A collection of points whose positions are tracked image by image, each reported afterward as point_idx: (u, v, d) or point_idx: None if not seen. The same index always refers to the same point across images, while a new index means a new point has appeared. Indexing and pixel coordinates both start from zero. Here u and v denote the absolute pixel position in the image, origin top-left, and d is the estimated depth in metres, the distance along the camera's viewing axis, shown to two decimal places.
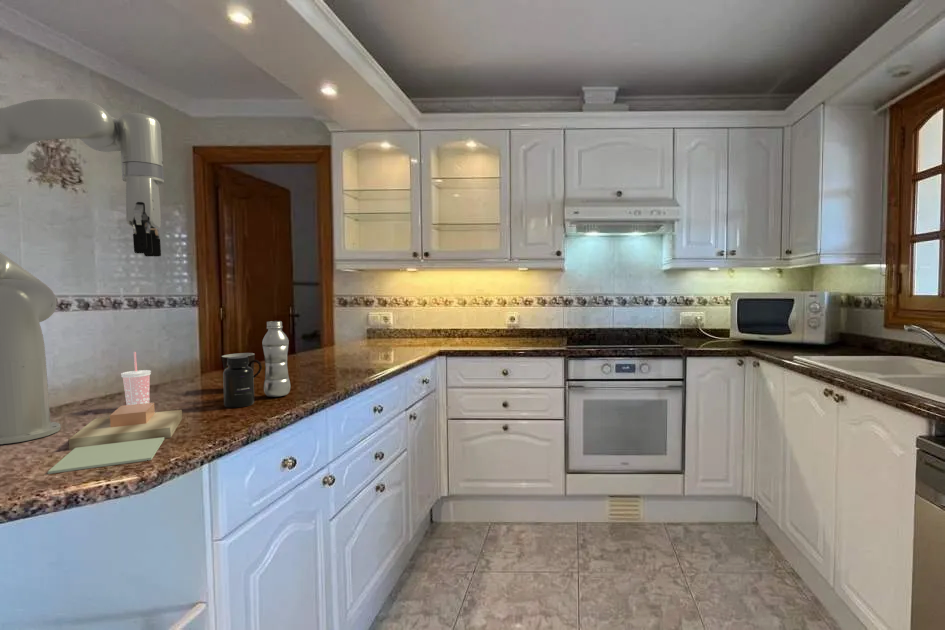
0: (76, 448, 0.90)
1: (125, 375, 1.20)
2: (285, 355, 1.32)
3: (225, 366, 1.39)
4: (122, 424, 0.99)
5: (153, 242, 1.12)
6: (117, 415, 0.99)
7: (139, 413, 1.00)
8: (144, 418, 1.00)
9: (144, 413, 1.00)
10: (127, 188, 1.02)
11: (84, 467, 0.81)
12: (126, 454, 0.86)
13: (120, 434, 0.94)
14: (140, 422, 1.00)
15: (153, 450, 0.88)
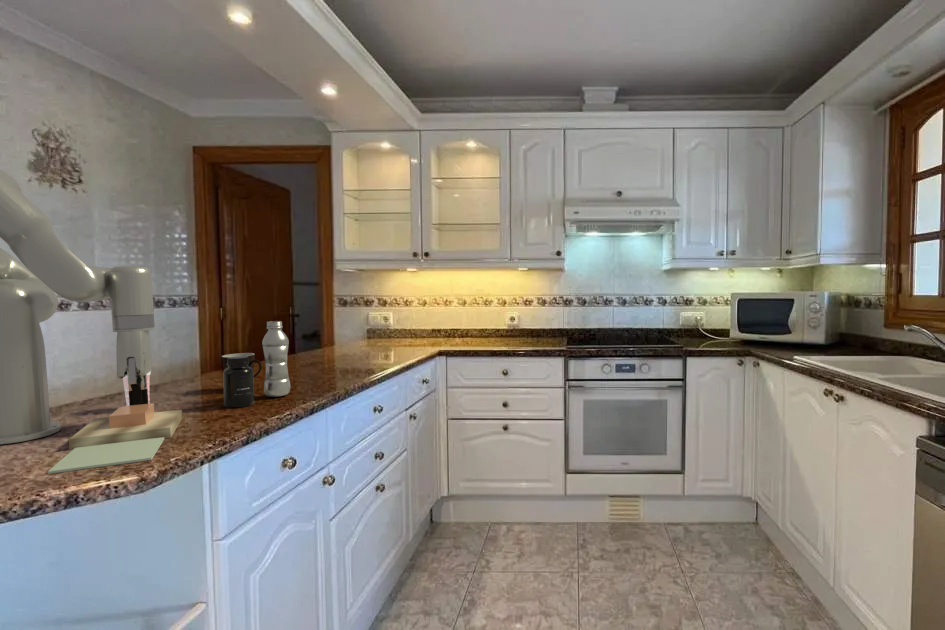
0: (76, 448, 0.90)
1: None
2: (285, 355, 1.32)
3: (225, 366, 1.39)
4: (121, 425, 0.98)
5: None
6: (116, 416, 0.98)
7: (138, 414, 0.99)
8: (143, 419, 1.00)
9: (143, 414, 1.00)
10: (117, 344, 1.02)
11: (84, 467, 0.81)
12: (126, 454, 0.86)
13: (120, 434, 0.94)
14: (139, 423, 0.99)
15: (153, 450, 0.88)
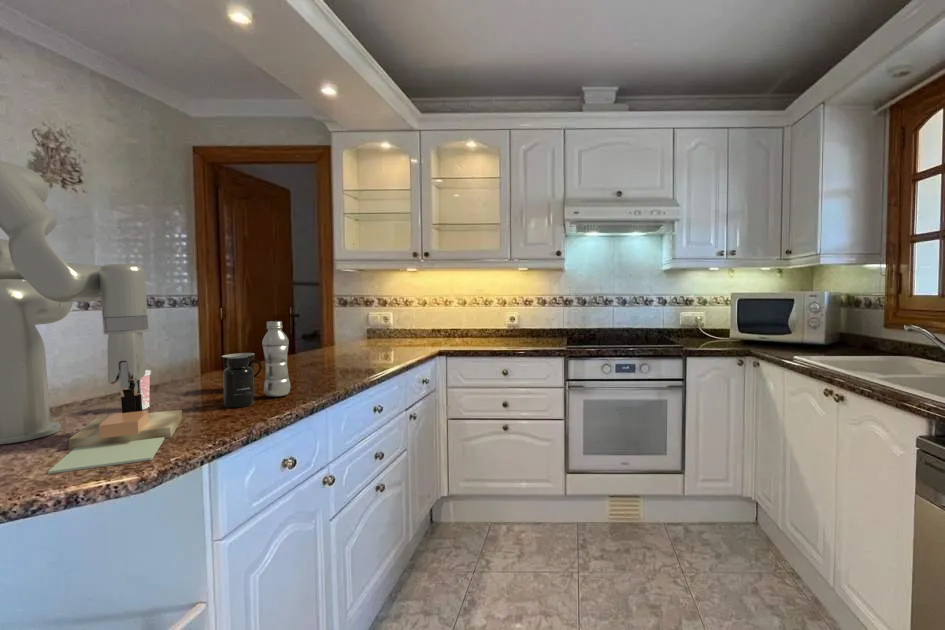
0: (76, 448, 0.90)
1: None
2: (285, 355, 1.32)
3: (225, 366, 1.39)
4: (112, 435, 0.92)
5: None
6: (107, 425, 0.91)
7: (130, 423, 0.93)
8: (136, 428, 0.93)
9: (136, 423, 0.93)
10: (109, 347, 0.96)
11: (84, 467, 0.81)
12: (126, 454, 0.86)
13: None
14: (132, 432, 0.93)
15: (153, 450, 0.88)
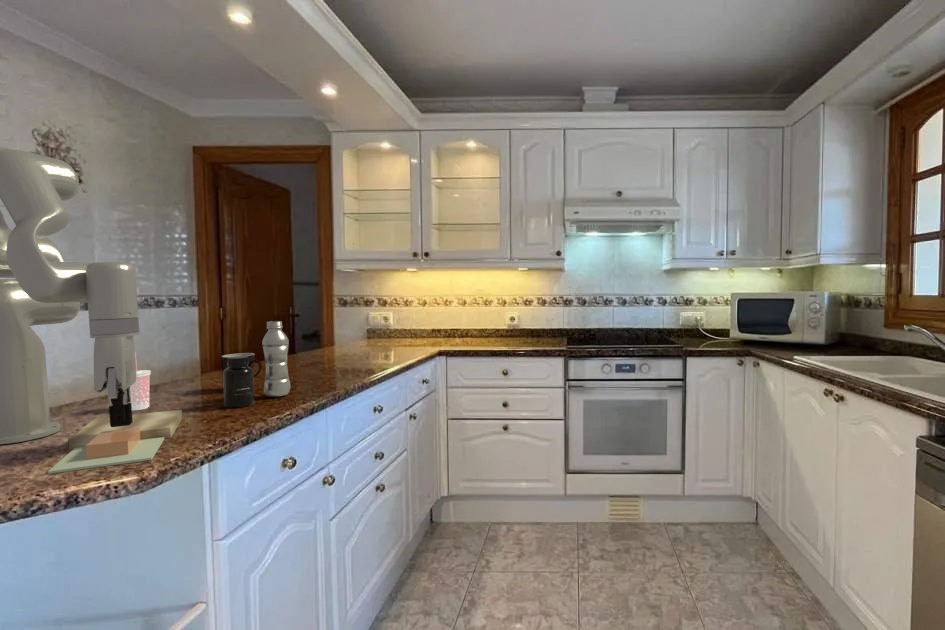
0: (76, 448, 0.90)
1: None
2: (285, 355, 1.32)
3: (225, 366, 1.39)
4: (100, 456, 0.85)
5: None
6: (94, 445, 0.85)
7: (120, 442, 0.86)
8: (126, 448, 0.86)
9: (126, 442, 0.86)
10: (95, 352, 0.88)
11: (84, 467, 0.81)
12: None
13: None
14: (121, 453, 0.86)
15: (153, 450, 0.88)
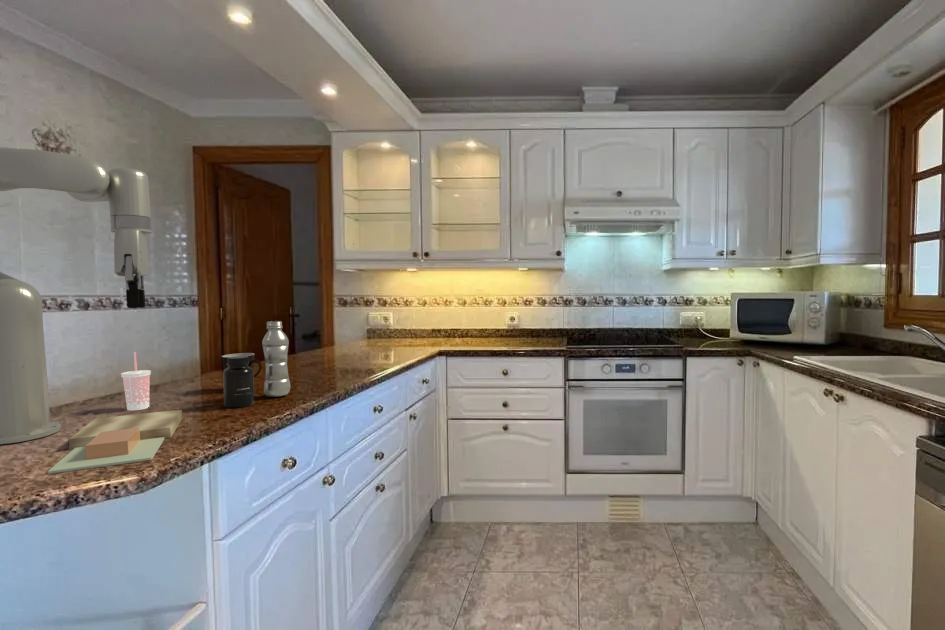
0: (76, 448, 0.90)
1: (125, 375, 1.20)
2: (285, 355, 1.32)
3: (225, 366, 1.39)
4: (100, 456, 0.85)
5: None
6: (94, 445, 0.85)
7: (120, 442, 0.86)
8: (126, 448, 0.86)
9: (126, 442, 0.86)
10: (115, 241, 1.07)
11: (84, 467, 0.81)
12: None
13: None
14: (121, 453, 0.86)
15: (153, 450, 0.88)
